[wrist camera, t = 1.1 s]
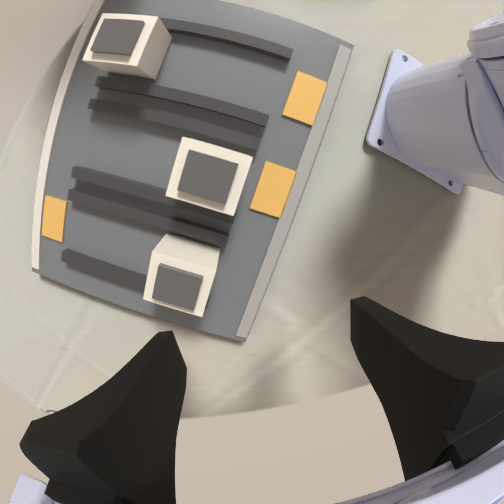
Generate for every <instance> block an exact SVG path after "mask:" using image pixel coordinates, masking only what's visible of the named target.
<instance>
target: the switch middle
mask: <svg viewBox="0 0 504 504" xmlns="http://www.w3.org/2000/svg"><path fill="white" fill-rule="evenodd" d="M252 159H253V157H252V156H250V155H246V154H243V153H240V152H237V151H234V150H230V149H227V148H224V147H220V146H217V145H214V144H210V143H207V142H203V141H200V140H196V139H192V138H187V137H182V140H181V143H180V146H179V150H178V153H177V156H176V160H175V163H174V166H173V170H172V173H171V177H170V181H169V184H168V188H167V192H166V195H165V196H168V197H171V198H175V199H178V200H182V201H185V202H188V203H192V204H195V205H198V206H202V207H205V208H208V209H212V210H215V211H218V212H222V213H225V214H228V215H231V216H234V213H235V210H236V207H237V204H238V201H239V198H240V195H241V192H242V189H243V186H244V183H245V180H246V177H247V174H248V171H249V168H250V165H251V162H252Z"/></svg>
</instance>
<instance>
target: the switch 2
mask: <svg viewBox="0 0 504 504" xmlns="http://www.w3.org/2000/svg"><path fill="white" fill-rule="evenodd" d="M219 253H220V248H218V247H214V246H211V245H207V244H204V243H201V242H197V241H194V240H191V239H187V238H184V237H181V236H178V235H174V234H171V233H168V232H167V233H166V235H165V236H164V237H163V238H162V240H161V241H160V242H159V243H158V245H157V246H156V247H155V248H154V250H153V251H152V255H151V260H150V265H149V270H148V275H147V280H146V285H145V291H144V296H143V299H144V300H147V301H150V302H153V303H156V304H159V305H163V306H166V307H169V308H172V309H176V310H179V311H182V312H186V313H189V314H193V315H196V316H200V317H202V316H203V313H204V309H205V306H206V303H207V299H208V296H209V293H210V289H211V286H212V283H213V279H214V276H215V273H216V269H217V264H218V258H219Z"/></svg>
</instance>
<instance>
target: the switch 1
mask: <svg viewBox="0 0 504 504" xmlns="http://www.w3.org/2000/svg"><path fill="white" fill-rule="evenodd" d="M171 40H172V37H171V35H170V34H169V32H168V30H167V29H166V27H165V26H164V24H163V23H162V21H161V20H160V18H159V17H157V16H147V15H134V14H113V13H103V14H102V16H101V18H100V20H99V22H98V24H97V26H96V28H95V31H94V33H93V35H92V37H91V40H90V42H89V44H88V47H87V49H86V52H85V54H84V57H83V59H82V60H83V61H85V62H87V63H89V64H91V65H93V66H95V67H97V68H99V69H101V70H103V71H105V72H107V73H115V74H122V75H129V76H135V77H141V78H147V79H153V80H156V77H157V75H158V72H159V69H160V67H161V64H162V62H163V59H164V57H165V54H166V52H167V49H168V47H169V45H170V42H171Z"/></svg>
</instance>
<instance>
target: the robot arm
mask: <svg viewBox="0 0 504 504" xmlns="http://www.w3.org/2000/svg"><path fill="white" fill-rule="evenodd" d="M467 46H468V48H469V50H470V51H471V52H469V53H465V54H462V55H458V56H455V57H451V58H448V59H445V60H441V61H438V62H435V63H432V64H429V65H426V66H425V65H423V64H422V63H420V62H419V61H417V60H415V59H414V58H412V57H411V56H409V55H408V54H406V53H404V52H403V51H401V50H399V49H395V50H394V51H392V53H391V56H390V60H389V63H388V67H387V70H386V74H385V77H384V81H383V84H382V88H381V91H380V94H379V98H378V101H377V104H376V107H375V110H374V114H373V117H372V120H371V123H370V126H369V129H368V132H367V135H366V142H367V144H368V145H369V146H371V147H373V148H375V149H377V150H379V151H381V152H383V153H385V154H387V155H389V156H391V157H393V158H395V159H397V160H399V161H400V162H402V163H404V164H406V165H408V166H410V167H411V168H413V169H415V170H417V171H418V172H420V173H422V174H424V175H425V176H427V177H429V178H430V179H432V180H434V181H435V182H437V183H439V184H440V185H442V186H444V187H445V188H447V189H448V190H450V191H451V192H453V193H455V194H460V193H461V191H462V189H463V186H464V184H466V185H469V186H473V187H477V188H480V189H484V190H487V191H490V192H494V193H497V194H500V195H503V196H504V12H502V13H499V14H497V15H495V16H492V17H490V18H488V19H486V20H484V21H482V22H480V23H478V24H477V25H475V26H474V27H472V28H471V29H470V35H469V40H468V42H467ZM402 57H404V58H405V61H403V59H402ZM378 139H380V140H381V145H380V146H379V145H378V144H377V140H378ZM449 180H450V184H448V182H449ZM350 307H351V342H352V345H353V348H354V351H355V353H356V356H357V358H358V360H359V362H360V364H361V366H362V368H363V370H364V372H365V373H366V375H367V377H368V379H369V381H370V383H371V384H372V386H373V388H374V390H375V392H376V393H377V395H378V397H379V399H380V401H381V403H382V406H383V408H384V411H385V414H386V416H387V419H388V422H389V424H390V428H391V431H392V433H393V436H394V440H395V443H396V446H397V450H398V454H399V457H400V461H401V465H402V469H403V473H404V478H405V482H402V483H399V484H397V485H394V486H392V487H389V488H386V489H383V490H380V491H377V492H374V493H371V494H368V495H365V496H362V497H358V498H354V499H351V500H347V501H343V502H340V503H335V504H499V503H500V502H502V501H503V500H504V342H489V341H480V340H473V339H467V338H462V337H458V336H453V335H449V334H446V333H442V332H439V331H436V330H433V329H430V328H428V327H425V326H422V325H420V324H418V323H416V322H413V321H411V320H409V319H407V318H405V317H403V316H401V315H399V314H397V313H395V312H393V311H391V310H389V309H387V308H386V307H384V306H382V305H380V304H378V303H376V302H375V301H373V300H371V299H369V298H367V297H365V296H364V297H359V298H355V299H351V300H350ZM186 375H187V367H186V365H185V362H184V360H183V357H182V355H181V352H180V350H179V347H178V344H177V342H176V339H175V337H174V334H173V331H165V332H158V333H157V334H156V335H155V336H154V337H153V338H152V339H151V340H150V341H149V342H148V343H147V344H146V345H145V346H144V347H143V348H142V349H141V350H140V351H139V352H138V353H137V354H136V355H135V356H134V357H133V358H132V359H131V360H130V361H129V362H128V363H127V364H126V365H125V366H124V367H123V368H122V369H121V370H119V371H118V372H117V373H116V374H115V375H114V376H113V377H112V378H111V379H109V380H108V381H107V382H106V383H104V384H103V385H102V386H100V387H99V388H98V389H96V390H95V391H93V392H92V393H90V394H89V395H87V396H85V397H84V398H82V399H81V400H79V401H77V402H76V403H74V404H72V405H70V406H68V407H66V408H64V409H62V410H60V411H58V412H55V413H53V414H50V415H48V416H45V417H42V418H39V419H37V420H33V421H31V423H30V425H29V427H28V429H27V430H26V433H25V434H24V436H23V438H22V440H21V442H20V447H21V450H22V452H23V453H24V455H25V456H26V457H27V458H28V459H29V460H30V461H31V462H32V463H33V464H34V465H35V466H36V467H37V468H38V469H39V470H40V471H42V472H43V473H44V474H45V475H46V476H47V477H48V478H49V479H50V480H49V483H48V484H46V483H44V482H43V481H41V480H38V479H36V478H33V477H31V476H28V475H25V474H21V476H20V478H19V481H18V483H17V485H16V488H15V490H14V492H13V495H12V497H11V500H10V503H9V504H176V498H175V449H176V448H175V447H176V436H177V430H178V425H179V420H180V415H181V410H182V405H183V400H184V395H185V389H186Z"/></svg>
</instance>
